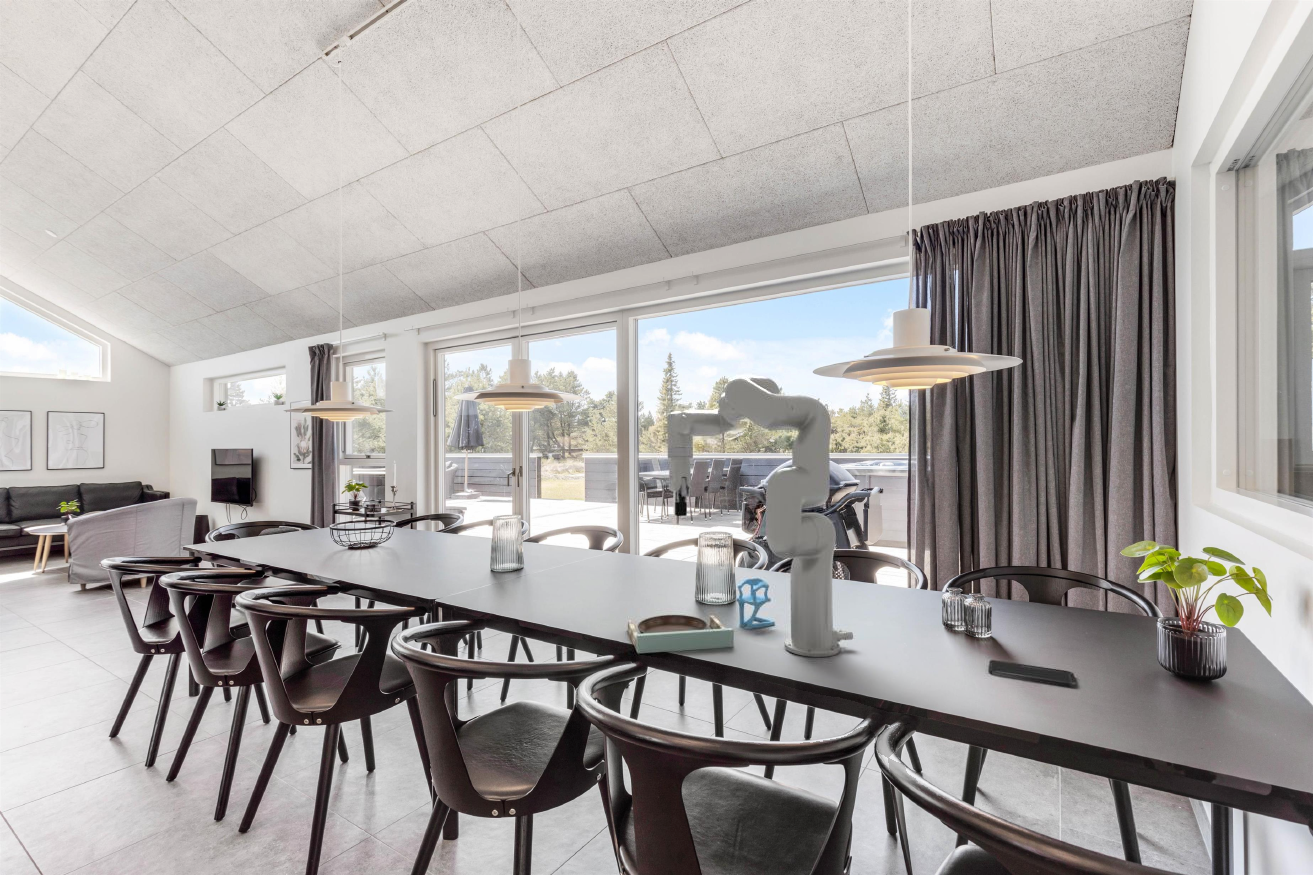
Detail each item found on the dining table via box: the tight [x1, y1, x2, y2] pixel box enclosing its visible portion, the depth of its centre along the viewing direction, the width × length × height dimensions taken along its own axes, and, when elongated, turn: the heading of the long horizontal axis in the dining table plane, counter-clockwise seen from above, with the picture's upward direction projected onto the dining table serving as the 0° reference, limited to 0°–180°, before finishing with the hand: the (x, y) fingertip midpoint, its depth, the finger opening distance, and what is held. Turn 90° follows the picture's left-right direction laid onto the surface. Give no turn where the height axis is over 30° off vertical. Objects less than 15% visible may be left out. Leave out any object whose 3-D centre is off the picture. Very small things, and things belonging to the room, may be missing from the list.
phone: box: [987, 659, 1077, 689], centre depth 126 cm, size 8×1×15 cm
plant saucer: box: [637, 614, 709, 634], centre depth 155 cm, size 18×18×3 cm
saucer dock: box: [627, 615, 735, 654], centre depth 152 cm, size 18×23×4 cm
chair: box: [735, 578, 776, 630], centre depth 163 cm, size 8×8×12 cm
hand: (680, 515), depth 181 cm, fingers closed
